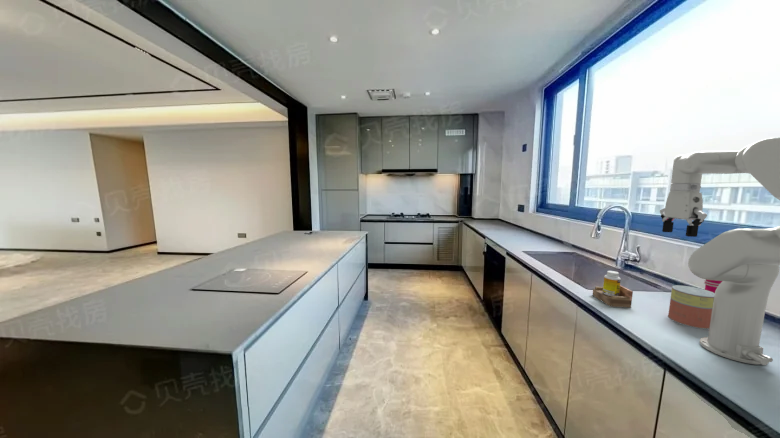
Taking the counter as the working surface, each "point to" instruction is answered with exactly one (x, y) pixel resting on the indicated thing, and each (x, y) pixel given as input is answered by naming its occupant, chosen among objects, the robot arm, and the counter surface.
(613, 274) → the supplement bottle
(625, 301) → the display stand
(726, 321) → the robot arm
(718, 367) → the counter surface
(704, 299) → the canned food
